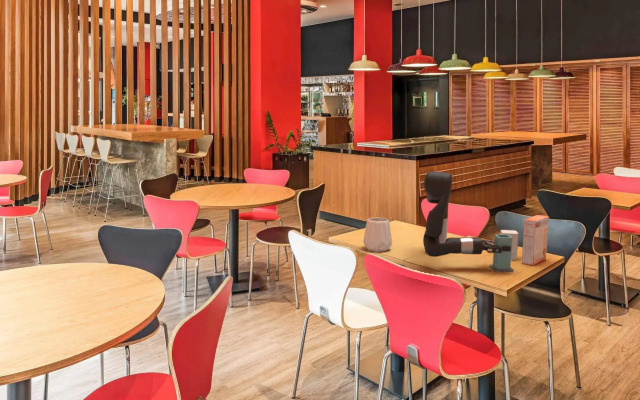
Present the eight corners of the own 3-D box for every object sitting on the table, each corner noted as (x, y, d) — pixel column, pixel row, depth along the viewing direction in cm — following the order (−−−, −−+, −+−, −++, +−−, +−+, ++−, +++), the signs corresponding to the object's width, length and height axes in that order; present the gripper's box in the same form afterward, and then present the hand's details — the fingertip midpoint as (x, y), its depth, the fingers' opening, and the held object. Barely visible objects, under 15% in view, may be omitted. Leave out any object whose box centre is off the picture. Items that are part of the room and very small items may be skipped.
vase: (368, 253, 257) (368, 222, 255) (360, 246, 271) (360, 217, 268) (395, 252, 260) (396, 221, 257) (386, 244, 274) (387, 216, 271)
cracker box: (533, 257, 253) (537, 214, 249) (546, 260, 248) (549, 216, 245) (520, 263, 243) (523, 218, 239) (533, 266, 239) (536, 220, 235)
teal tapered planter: (496, 269, 231) (498, 237, 228) (492, 265, 236) (494, 234, 234) (510, 269, 230) (512, 237, 228) (505, 265, 236) (508, 234, 234)
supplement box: (517, 260, 248) (519, 233, 246) (500, 259, 249) (502, 232, 247) (514, 255, 255) (516, 230, 253) (498, 254, 257) (500, 229, 254)
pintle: (494, 272, 230) (496, 254, 228) (489, 266, 237) (490, 249, 236) (513, 272, 229) (514, 254, 228) (507, 266, 237) (508, 249, 236)
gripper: (474, 241, 224) (513, 241, 224) (466, 233, 238) (502, 234, 238) (473, 258, 226) (512, 259, 225) (465, 249, 240) (501, 250, 239)
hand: (507, 246), depth 232 cm, fingers open, 8 cm apart
